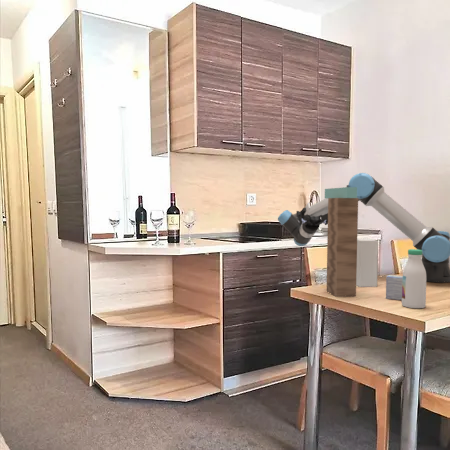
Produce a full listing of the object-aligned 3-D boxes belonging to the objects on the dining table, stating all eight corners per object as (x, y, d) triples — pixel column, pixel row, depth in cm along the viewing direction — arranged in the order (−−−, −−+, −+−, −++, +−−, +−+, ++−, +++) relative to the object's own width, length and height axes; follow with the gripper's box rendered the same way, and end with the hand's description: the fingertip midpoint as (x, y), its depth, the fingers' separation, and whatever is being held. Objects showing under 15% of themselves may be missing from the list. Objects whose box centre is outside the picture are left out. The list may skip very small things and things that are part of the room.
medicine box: (409, 299, 164) (410, 276, 163) (407, 301, 160) (408, 278, 159) (388, 296, 168) (388, 274, 167) (385, 298, 164) (386, 276, 164)
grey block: (349, 282, 197) (350, 238, 196) (366, 282, 198) (367, 238, 197) (359, 286, 187) (360, 240, 186) (377, 286, 188) (378, 240, 187)
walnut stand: (326, 291, 177) (328, 198, 175) (345, 291, 178) (347, 198, 176) (336, 296, 167) (338, 197, 165) (355, 296, 168) (358, 198, 166)
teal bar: (324, 198, 184) (324, 188, 184) (333, 198, 184) (333, 189, 184) (346, 197, 162) (347, 187, 162) (356, 198, 163) (357, 187, 163)
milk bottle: (429, 306, 152) (431, 250, 151) (418, 310, 147) (420, 251, 146) (408, 302, 158) (410, 248, 157) (397, 305, 153) (398, 249, 152)
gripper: (335, 234, 208) (352, 213, 190) (285, 234, 205) (297, 212, 186) (332, 220, 212) (349, 198, 193) (283, 220, 208) (295, 197, 189)
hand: (324, 205), depth 189 cm, fingers open, 13 cm apart
